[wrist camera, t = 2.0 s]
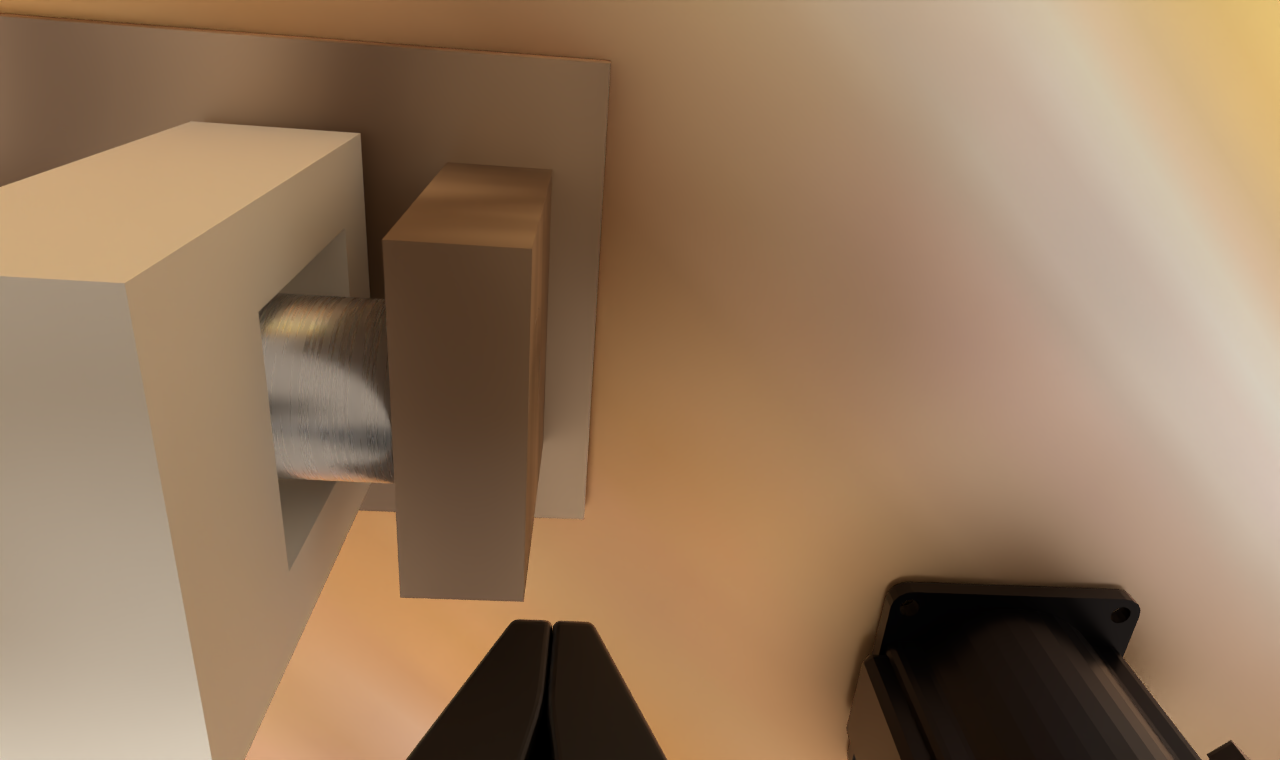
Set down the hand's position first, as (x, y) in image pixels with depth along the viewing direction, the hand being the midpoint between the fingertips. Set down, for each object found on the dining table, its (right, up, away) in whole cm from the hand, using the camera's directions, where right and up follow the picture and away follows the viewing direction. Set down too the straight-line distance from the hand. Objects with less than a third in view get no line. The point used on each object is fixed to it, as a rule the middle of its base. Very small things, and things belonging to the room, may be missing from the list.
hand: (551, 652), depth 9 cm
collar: (-6, +5, +9) cm, 12 cm away
